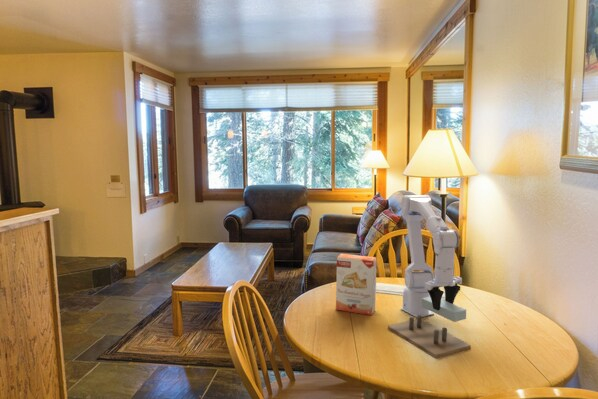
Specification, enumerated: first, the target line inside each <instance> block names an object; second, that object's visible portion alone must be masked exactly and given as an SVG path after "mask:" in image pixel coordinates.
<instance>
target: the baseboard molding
mask: <svg viewBox="0 0 598 399" xmlns="http://www.w3.org/2000/svg"><path fill="white" fill-rule="evenodd" d="M405 288H406V285H401V284H394V283H393V284H391V283H384V282H383V283H382V282H376V294H377V293H378V294H386V295H393V296H394V295H395V296H402V297H403V292H404V289H405ZM440 290H441V291H444V293H443V295H442V298H441V299H442V300H444V301H445V290H444V289H440ZM429 296H430V295H429Z"/></svg>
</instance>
